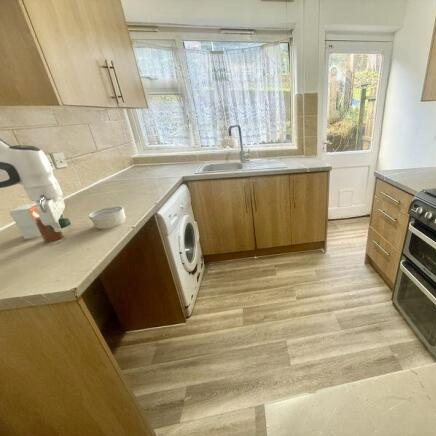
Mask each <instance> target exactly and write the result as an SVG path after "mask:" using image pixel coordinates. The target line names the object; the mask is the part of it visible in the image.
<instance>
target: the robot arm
mask: <svg viewBox="0 0 436 436" xmlns="http://www.w3.org/2000/svg"><path fill="white" fill-rule="evenodd" d="M16 185H21V186H22V187H23V189H24V191H25V193H26V195H27V197H28V199H29V201H31V202H35V203H37V204H36V209H37V212H38V215H39V217H40V219H41V222H42V223H43V225H45V226H46V225H51V226H52V227H53V228H54V230H55V232H60V231H63V228H61V225H59V223H58V220H59V219H63V218H65V217H64V213H63V212H64V210H65V208H66V205H65V199H64V197H63V195H64V193H63V191H62V187H61V185H60V183H59V181H58V180H57V178H56V177H55V176H54V169H53V167H52V165H51V163H50V161H49V159H48V157H47V155H46V154H45V152H44V151H43V150H42V149H40V148H39V147H36V146H33V145H25V144H24V145H21V144H20V145H19V144H17V145H11V144H9V143H7V142H6V141H4V140H2V138H0V189H3V188H10V187H13V186H16Z"/></svg>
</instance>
